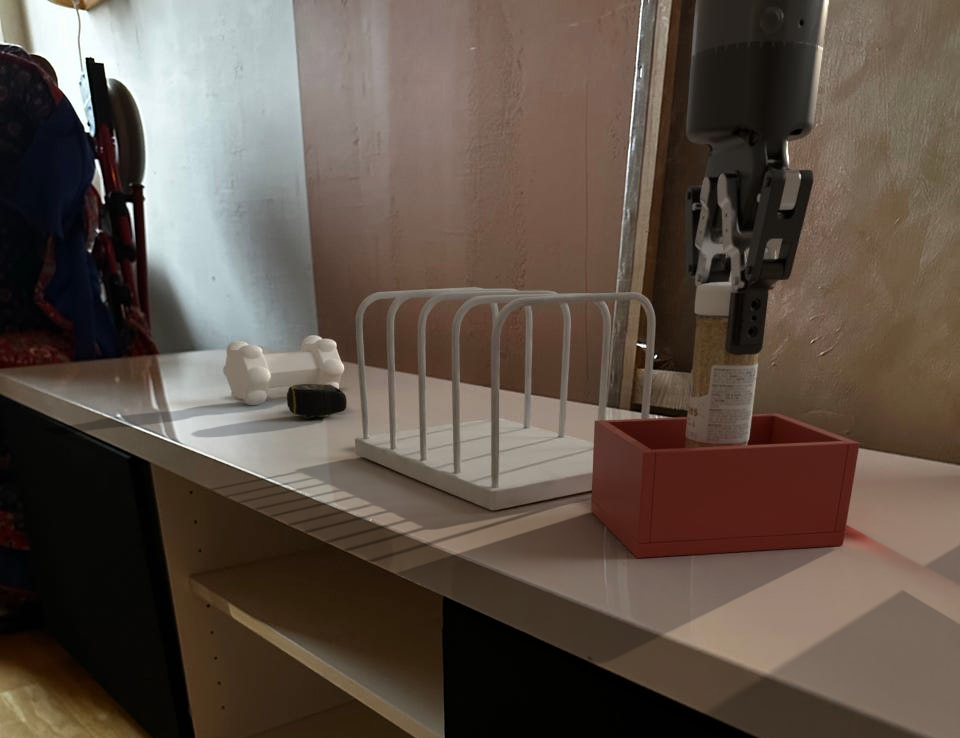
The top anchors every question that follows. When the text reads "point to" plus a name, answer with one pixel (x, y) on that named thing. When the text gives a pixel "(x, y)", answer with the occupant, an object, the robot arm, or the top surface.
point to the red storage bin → (721, 487)
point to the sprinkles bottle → (718, 376)
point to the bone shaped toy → (280, 368)
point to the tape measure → (315, 400)
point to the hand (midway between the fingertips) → (726, 348)
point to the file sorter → (492, 409)
